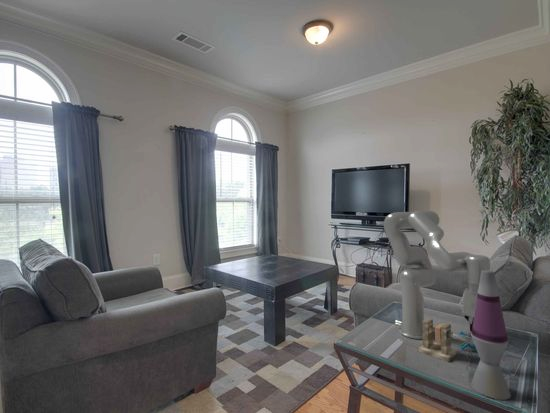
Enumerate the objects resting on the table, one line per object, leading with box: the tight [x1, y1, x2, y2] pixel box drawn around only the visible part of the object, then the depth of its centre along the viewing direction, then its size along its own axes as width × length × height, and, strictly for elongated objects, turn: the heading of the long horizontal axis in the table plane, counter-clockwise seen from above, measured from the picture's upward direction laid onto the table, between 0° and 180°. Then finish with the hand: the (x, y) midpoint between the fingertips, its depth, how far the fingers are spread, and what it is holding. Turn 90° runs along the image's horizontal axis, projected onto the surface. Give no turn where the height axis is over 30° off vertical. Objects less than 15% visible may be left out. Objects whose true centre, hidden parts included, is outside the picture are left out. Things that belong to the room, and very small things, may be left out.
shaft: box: [431, 326, 475, 345], centre depth 117 cm, size 19×3×9 cm, turn 42°
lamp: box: [470, 269, 512, 401], centre depth 98 cm, size 11×11×40 cm
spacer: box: [434, 322, 444, 345], centre depth 122 cm, size 2×6×6 cm, turn 132°
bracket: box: [417, 317, 458, 363], centre depth 123 cm, size 12×10×12 cm
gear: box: [459, 331, 477, 352], centre depth 125 cm, size 11×6×10 cm
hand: (479, 334), depth 112 cm, fingers closed on shaft, 3 cm apart
